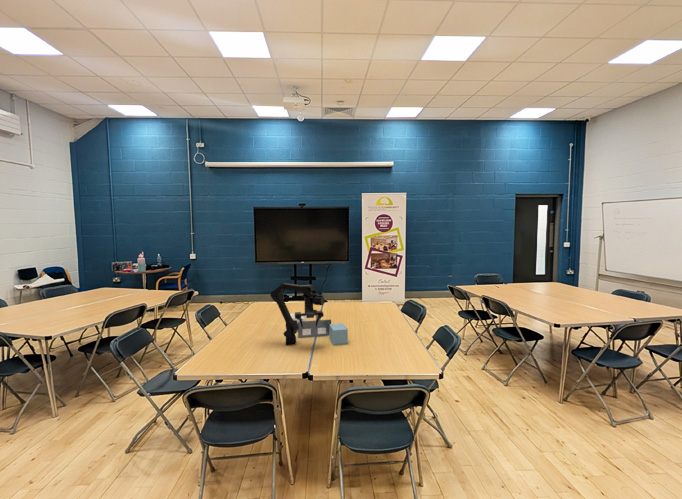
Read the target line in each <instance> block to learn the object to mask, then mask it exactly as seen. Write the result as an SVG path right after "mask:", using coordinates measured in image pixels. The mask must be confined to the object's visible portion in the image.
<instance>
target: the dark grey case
mask: <svg viewBox="0 0 682 499" xmlns="http://www.w3.org/2000/svg"><path fill="white" fill-rule="evenodd" d="M329 324H332V319H331V318H329V319H319V321H318V324H317V327H316V319H315V320H307V321H302V325H303V328H302V326H301V323H300V322H298V326H299V329H298V332H297V338H299V339H300V338H315V337H326V336H329Z"/></svg>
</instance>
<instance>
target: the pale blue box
mask: <svg viewBox="0 0 682 499" xmlns="http://www.w3.org/2000/svg"><path fill="white" fill-rule="evenodd" d="M346 326H347V325H345V323H343V322H342V323H331V324H329V335H328V336H329V340H330V342H331V344H332V346H337V345H348V344H349V343H348V342H349V341H348V337H349V330H348V327H346Z"/></svg>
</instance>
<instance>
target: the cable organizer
mask: <svg viewBox="0 0 682 499" xmlns="http://www.w3.org/2000/svg"><path fill="white" fill-rule="evenodd" d="M290 315H291V317H292V319H293V320H294V321H295V320H296V321H297V323H298V322H300V321H299V320H297V319H296V318H295V313H290ZM301 318H302V321H308V318H307V317H306V316H301ZM296 333H298V331H297V332H296Z"/></svg>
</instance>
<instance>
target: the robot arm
mask: <svg viewBox="0 0 682 499" xmlns="http://www.w3.org/2000/svg"><path fill="white" fill-rule="evenodd" d="M286 290H287V291H291V292H292V291H294V292H300V294H302V295H301V298H304V313H302V312H301V311H297V312H294V314H295V318H296V319H297V320H299V321H300V323H301V326H302V328H303V325H302V318H301V316H306V317H307V319H314V318H315V320H316V327H317V324H318V321H319V320H321V319H322V317H323V318H324V312H323V310H318V309H314V305H315V306H324V304H325V297H324V294H318V293H317V290H316V289H315V287H314V285H313V284H293V283H288V282H283V283H281V284H280V285H279V286H277V287H276V288H275V289H273V290H271V291H270V298H271V299H272V301H274V302H275V303H276V304H277V306H278V308H279V309H278V310H280V312H281V316H282V317H283V319H284V322H285V329H286V330H285V331H284V332H283V337H285V346H295V345H296V344H297V336H296V334H297V333H298V332H297V331H298V329H299V326H298V323H297V321H296V320H295V321H294V320H293V319H292V317H291V315H290V314H291V313H290V310H289V309H288V306H287V304H286V302H285V300H284V299H285V298H284V293H285V292H286Z"/></svg>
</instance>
